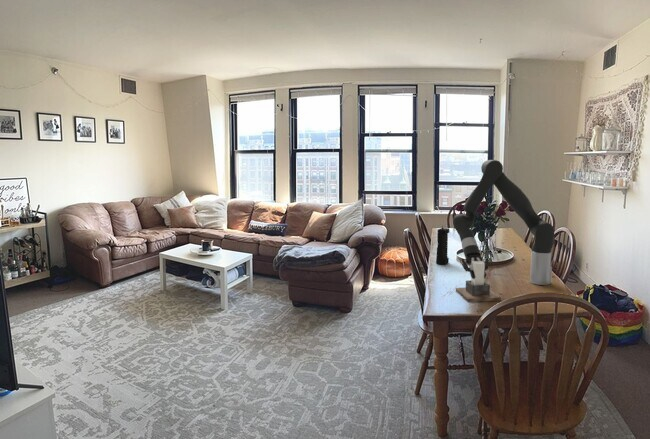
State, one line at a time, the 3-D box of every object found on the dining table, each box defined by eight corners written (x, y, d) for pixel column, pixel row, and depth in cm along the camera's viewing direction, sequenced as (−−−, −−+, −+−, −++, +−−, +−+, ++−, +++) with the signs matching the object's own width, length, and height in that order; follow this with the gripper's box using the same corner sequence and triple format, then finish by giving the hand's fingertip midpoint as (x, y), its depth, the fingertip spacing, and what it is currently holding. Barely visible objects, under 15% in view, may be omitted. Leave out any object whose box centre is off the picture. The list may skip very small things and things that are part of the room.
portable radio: (440, 261, 266) (441, 223, 262) (449, 262, 262) (450, 224, 258) (435, 263, 260) (435, 225, 256) (444, 265, 256) (445, 226, 252)
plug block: (479, 287, 203) (480, 260, 201) (483, 290, 199) (484, 263, 197) (471, 288, 203) (471, 261, 201) (474, 291, 199) (475, 263, 196)
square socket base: (486, 289, 210) (486, 277, 208) (500, 300, 194) (501, 287, 193) (455, 290, 209) (455, 278, 208) (467, 301, 193) (467, 288, 192)
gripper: (458, 244, 205) (467, 275, 195) (486, 243, 205) (496, 273, 195) (454, 252, 211) (462, 282, 201) (481, 251, 211) (491, 281, 201)
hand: (479, 277), depth 198 cm, fingers closed on plug block, 4 cm apart
